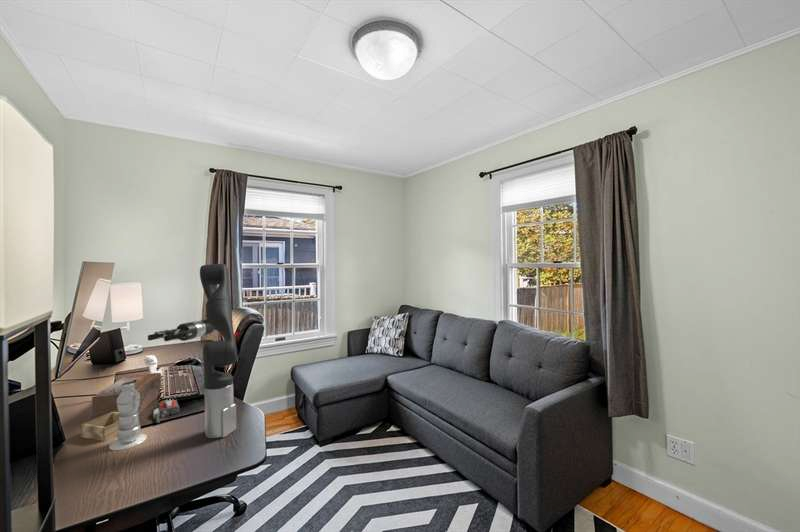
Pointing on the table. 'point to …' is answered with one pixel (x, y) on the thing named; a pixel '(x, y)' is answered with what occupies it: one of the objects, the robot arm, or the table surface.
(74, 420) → the table surface
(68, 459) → the table surface
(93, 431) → the oak holder
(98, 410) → the tissue box cover
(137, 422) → the plastic bottle
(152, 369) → the voxel character
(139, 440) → the grey coaster
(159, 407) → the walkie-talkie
